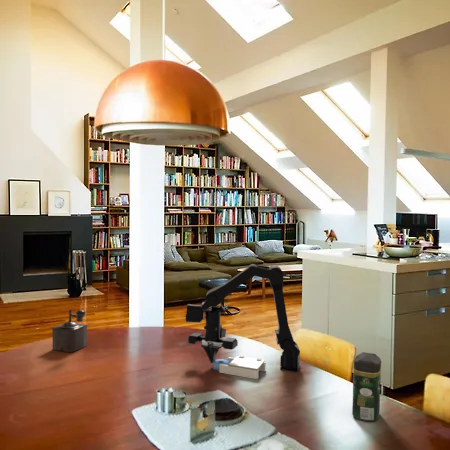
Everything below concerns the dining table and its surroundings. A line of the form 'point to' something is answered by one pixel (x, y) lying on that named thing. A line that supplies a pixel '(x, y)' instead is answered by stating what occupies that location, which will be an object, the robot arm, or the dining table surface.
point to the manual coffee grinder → (70, 334)
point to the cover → (247, 362)
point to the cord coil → (219, 361)
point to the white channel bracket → (240, 370)
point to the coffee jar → (366, 386)
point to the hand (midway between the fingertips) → (212, 362)
